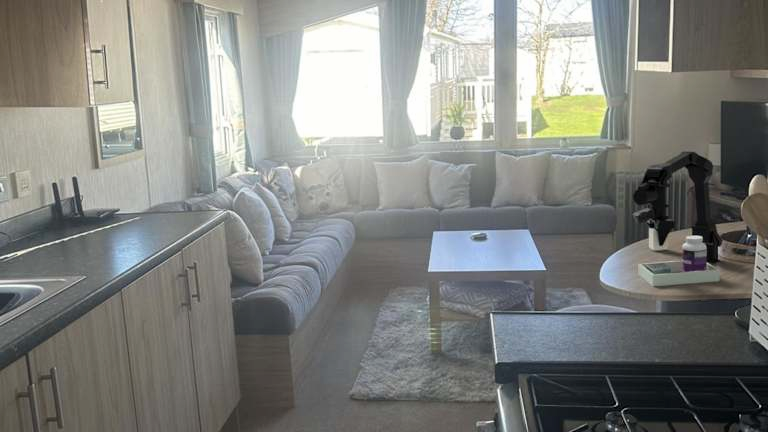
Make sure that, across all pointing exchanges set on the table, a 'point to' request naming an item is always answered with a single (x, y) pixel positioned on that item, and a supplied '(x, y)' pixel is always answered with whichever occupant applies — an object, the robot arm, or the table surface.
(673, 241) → the table surface
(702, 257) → the pill bottle
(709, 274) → the tote
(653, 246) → the carton
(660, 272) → the tin
